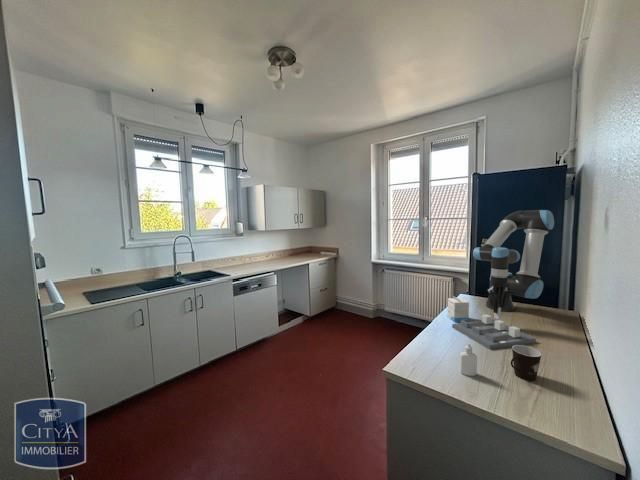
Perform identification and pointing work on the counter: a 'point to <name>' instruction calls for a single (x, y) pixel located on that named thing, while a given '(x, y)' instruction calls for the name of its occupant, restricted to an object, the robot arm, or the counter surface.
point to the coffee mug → (525, 362)
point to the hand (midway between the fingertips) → (497, 318)
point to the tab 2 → (499, 325)
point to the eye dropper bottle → (468, 362)
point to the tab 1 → (486, 319)
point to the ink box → (458, 309)
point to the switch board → (491, 334)
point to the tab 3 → (514, 332)
